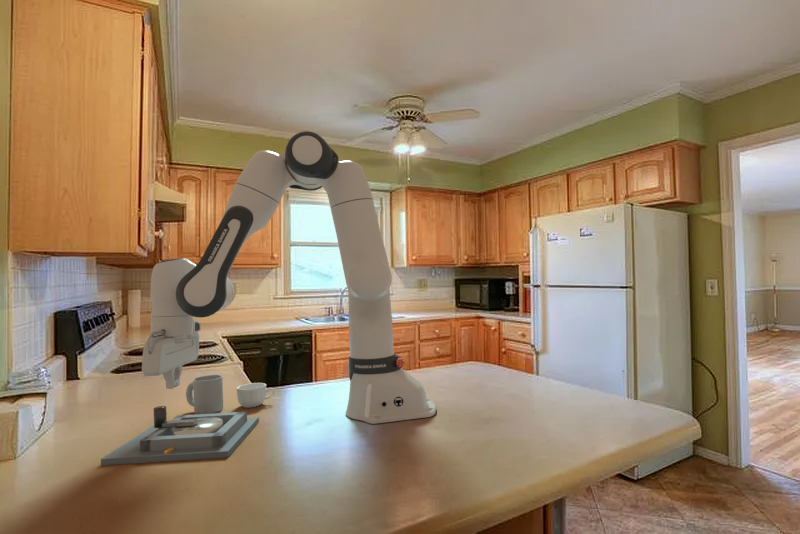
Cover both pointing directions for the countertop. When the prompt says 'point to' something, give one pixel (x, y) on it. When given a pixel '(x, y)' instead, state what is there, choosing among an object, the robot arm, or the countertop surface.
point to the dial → (186, 423)
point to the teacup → (252, 394)
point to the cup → (206, 394)
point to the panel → (175, 455)
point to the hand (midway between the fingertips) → (172, 387)
